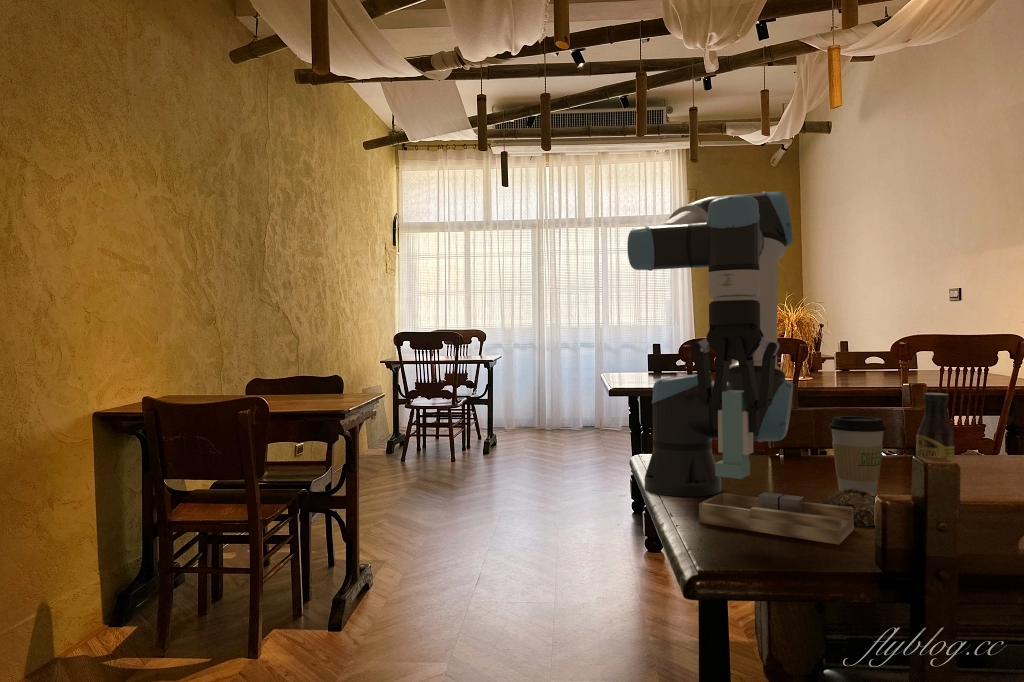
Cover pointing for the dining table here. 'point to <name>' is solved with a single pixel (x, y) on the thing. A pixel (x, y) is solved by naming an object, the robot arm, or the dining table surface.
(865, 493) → the bread roll
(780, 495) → the chip
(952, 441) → the sauce bottle
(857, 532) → the dining table surface
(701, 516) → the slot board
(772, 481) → the dining table surface
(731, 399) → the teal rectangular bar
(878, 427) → the coffee cup
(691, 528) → the dining table surface
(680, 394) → the robot arm
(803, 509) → the chip
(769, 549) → the dining table surface
